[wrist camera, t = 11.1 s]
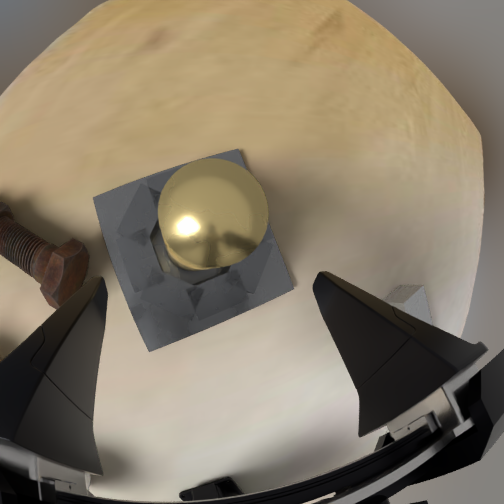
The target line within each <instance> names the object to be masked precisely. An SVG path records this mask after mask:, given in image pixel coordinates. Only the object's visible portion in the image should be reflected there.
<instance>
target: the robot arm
mask: <svg viewBox="0 0 504 504" xmlns="http://www.w3.org/2000/svg"><path fill="white" fill-rule="evenodd" d="M313 292H314V295H315V298H316V300H317V303H318V306H319V309H320V312H321V314H322V317H323V319H324V321H325V323H326V325H327V327H328V329H329V331H330V334H331V336H332V338H333V340H334V342H335V344H336V346H337V348H338V350H339V353H340V355H341V357H342V359H343V361H344V363H345V365H346V368H347V370H348V372H349V374H350V376H351V379H352V381H353V383H354V385H355V388H356V389H357V392H358V395H359V432H358V435H359V437H362V436H365V435H367V434H369V433H371V432H373V431H376V430H378V429H380V428H382V427H384V426H386V425H387V428H388V430H389V433H387V434H385V435H383V436H381V437H379V440H378V443H377V445H376V448H375V451H374V452H373V453H371V454H369V455H366V456H364V457H362V458H360V459H358V460H355V461H353V462H351V463H349V464H346V465H344V466H341V467H339V468H336V469H334V470H331V471H328V472H326V473H323V474H320V475H317V476H314V477H311V478H308V479H305V480H302V481H299V482H295V483H292V484H288V485H284V486H281V487H277V488H273V489H268V490H264V491H259V492H255V493H250V494H244V493H243V492H242V490H241V489H240V488H239V487H238V486H237V484H236V483H235V482H234V481H233V479H232V478H230V477H227V478H224V479H221V480H219V481H216V482H213V483H210V484H207V485H204V486H201V487H198V488H194V489H191V490H188V491H184V492H181V493H179V497H180V498H181V499H182V500H183V501H179V502H146V501H129V500H117V499H109V498H101V497H95V496H94V495H93V494H91V493H90V492H89V491H88V490H87V487H86V479H85V473H86V474H93V475H100V476H103V471H102V468H101V464H100V460H99V456H98V452H97V448H96V444H95V439H94V434H93V415H94V402H95V392H96V383H97V375H98V368H99V361H100V354H101V348H102V343H103V337H104V332H105V324H106V311H107V300H108V292H107V288H106V284H105V280H104V278H103V277H102V276H95V277H93V278H92V279H90V280H89V281H88V282H87V283H86V284H85V285H84V286H82V287H81V288H80V289H79V290H78V291H77V292H76V293H75V294H73V295H72V296H71V297H70V298H69V299H68V300H67V301H66V302H65V303H64V304H63V305H61V306H60V307H59V308H58V309H57V310H56V311H55V312H54V313H53V314H52V315H51V316H50V317H49V318H48V319H47V320H46V321H45V322H44V323H43V324H42V325H41V326H39V327H38V328H37V329H36V330H35V331H34V332H33V333H32V334H31V335H30V336H29V337H28V338H27V339H26V340H25V341H24V342H22V343H21V344H20V345H19V346H18V347H17V348H16V349H15V350H13V351H12V352H11V353H10V354H9V355H8V356H7V357H6V358H4V359H3V360H2V361H1V362H0V504H302V503H305V502H308V501H311V500H314V499H317V498H320V497H322V496H325V495H328V494H330V493H333V492H335V493H336V495H334V497H332V498H327V499H323V500H320V501H318V502H315V503H313V504H390V502H389V500H388V498H389V497H391V496H393V495H394V494H396V493H397V492H399V491H401V490H402V489H404V488H405V487H407V486H409V485H413V484H417V483H420V482H424V481H427V480H430V479H433V478H437V477H439V476H442V475H445V474H448V473H451V472H453V471H456V470H458V469H461V468H464V467H466V466H468V465H471V464H473V463H475V462H477V461H480V460H481V459H482V458H483V456H484V455H485V454H486V453H487V452H488V451H489V449H490V448H491V447H492V446H493V445H494V443H495V442H496V441H497V440H498V438H499V437H500V436H501V434H502V433H503V432H504V349H503V350H502V351H501V352H500V353H499V354H498V355H497V356H496V357H495V358H493V359H492V360H491V361H490V362H489V363H488V364H487V365H485V367H483V368H482V369H481V370H480V371H479V370H478V368H477V366H476V364H475V363H476V362H477V361H478V360H479V359H480V358H481V357H482V356H483V355H484V354H485V353H486V352H487V351H488V348H487V347H486V346H485V345H484V344H483V343H482V342H478V343H477V344H471V343H468V342H467V341H464V340H462V339H460V338H458V337H456V336H454V335H452V334H450V333H448V332H445V331H443V330H441V329H439V328H437V327H435V326H433V325H431V324H428V323H426V322H424V321H422V320H420V319H418V318H416V317H414V316H412V315H410V314H408V313H406V312H404V311H402V310H400V309H398V308H396V307H394V306H391V305H390V304H388V303H386V302H384V301H383V300H381V299H379V298H377V297H375V296H373V295H371V294H369V293H368V292H366V291H364V290H362V289H360V288H358V287H356V286H354V285H352V284H351V283H349V282H347V281H345V280H343V279H341V278H339V277H337V276H335V275H333V274H331V273H330V272H327V271H322V272H319V273H318V274H317V277H316V279H315V281H314V283H313ZM227 481H228V482H227ZM183 495H184V496H183ZM411 504H428V502H427V501H421V502H416V503H411Z"/></svg>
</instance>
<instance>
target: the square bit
mask: <svg viewBox="0 0 504 504" xmlns="http://www.w3.org/2000/svg"><path fill="white" fill-rule="evenodd" d="M383 301H384V302H386V303H388V304H390V305H391V306H394V307H396V308H398V309H400V310H402V311H404V312H406V313H408V314H410V315H412V316H414V317H416V318H418V319H420V320H422V321H424V322H426V323H428V324H431V325H433V324H432V319H431V314H430V310H429V306H428V301H427V297H426V293H425V289H424V285H400V286H399V287H398V288H397V289H395V290H394V291H393V292H392V293H390V294H389V295H388V296H387V297H385V298H384V299H383Z"/></svg>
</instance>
